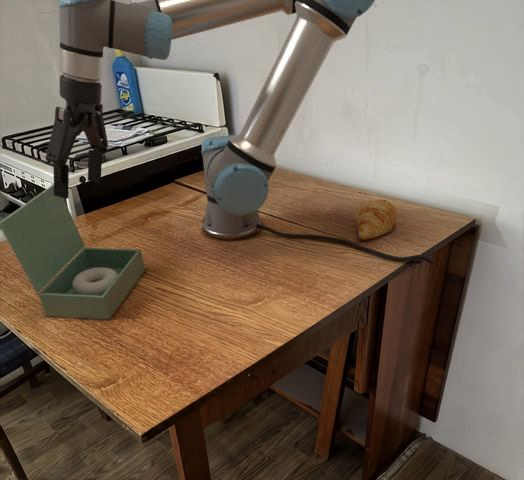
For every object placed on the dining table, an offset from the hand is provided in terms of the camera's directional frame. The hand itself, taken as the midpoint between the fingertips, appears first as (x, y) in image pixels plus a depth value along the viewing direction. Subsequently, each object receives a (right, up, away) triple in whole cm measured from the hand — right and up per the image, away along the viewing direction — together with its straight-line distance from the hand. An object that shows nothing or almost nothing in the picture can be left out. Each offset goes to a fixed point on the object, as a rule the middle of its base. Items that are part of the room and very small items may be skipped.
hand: (78, 189), depth 105 cm
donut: (+3, -21, +3) cm, 21 cm away
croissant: (+68, -2, +24) cm, 72 cm away
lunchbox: (+3, -21, +3) cm, 22 cm away
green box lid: (-5, -11, -4) cm, 12 cm away
